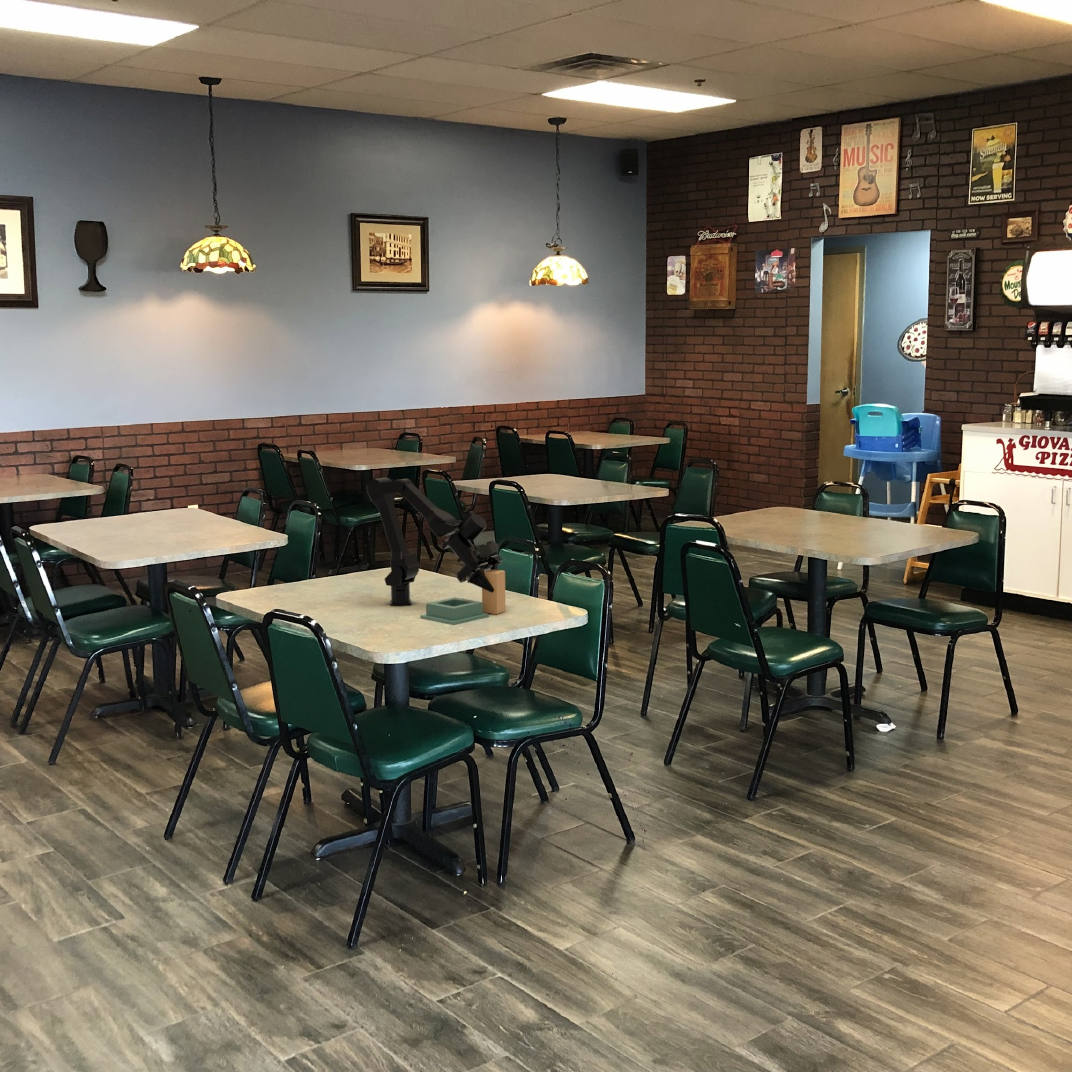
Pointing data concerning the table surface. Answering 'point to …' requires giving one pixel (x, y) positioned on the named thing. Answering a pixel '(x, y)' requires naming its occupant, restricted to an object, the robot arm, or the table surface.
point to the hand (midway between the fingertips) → (497, 590)
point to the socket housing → (454, 611)
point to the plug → (497, 598)
